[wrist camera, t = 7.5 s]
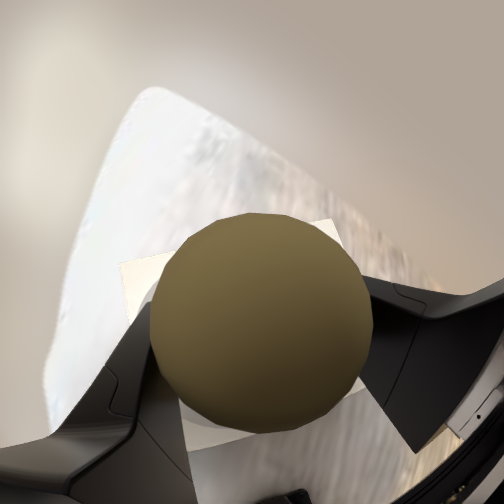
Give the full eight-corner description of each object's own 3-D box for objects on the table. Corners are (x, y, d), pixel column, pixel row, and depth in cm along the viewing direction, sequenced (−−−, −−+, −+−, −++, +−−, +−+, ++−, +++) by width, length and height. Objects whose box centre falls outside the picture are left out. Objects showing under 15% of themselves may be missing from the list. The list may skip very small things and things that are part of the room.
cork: (225, 270, 16) (268, 131, 6) (300, 340, 16) (445, 299, 6) (150, 340, 14) (52, 301, 4) (229, 416, 13) (290, 519, 3)
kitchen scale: (359, 374, 21) (392, 375, 17) (175, 438, 17) (169, 459, 12) (312, 238, 25) (335, 213, 20) (132, 279, 21) (116, 259, 16)
